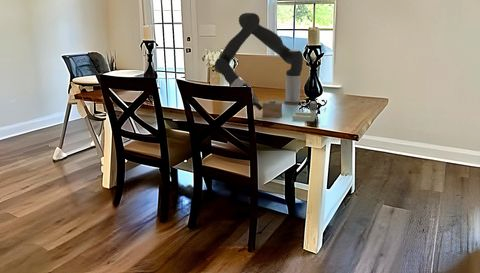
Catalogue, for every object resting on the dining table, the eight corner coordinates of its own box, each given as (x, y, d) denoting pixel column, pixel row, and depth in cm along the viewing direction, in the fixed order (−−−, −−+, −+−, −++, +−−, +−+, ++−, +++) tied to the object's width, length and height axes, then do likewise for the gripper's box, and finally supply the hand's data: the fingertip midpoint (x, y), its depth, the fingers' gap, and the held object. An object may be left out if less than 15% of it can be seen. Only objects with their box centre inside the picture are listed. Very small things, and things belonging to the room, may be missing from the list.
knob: (310, 108, 227) (310, 101, 225) (316, 109, 226) (317, 101, 224) (309, 110, 223) (309, 102, 222) (315, 110, 222) (316, 102, 221)
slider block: (264, 115, 238) (264, 99, 236) (281, 116, 236) (282, 100, 233) (262, 117, 234) (262, 101, 231) (279, 118, 231) (280, 102, 228)
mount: (295, 115, 236) (295, 105, 234) (315, 117, 232) (316, 106, 231) (292, 120, 227) (293, 109, 225) (313, 121, 224) (314, 110, 222)
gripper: (241, 84, 228) (263, 107, 228) (248, 80, 240) (268, 102, 240) (232, 93, 231) (253, 116, 231) (239, 89, 243) (259, 110, 243)
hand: (261, 109), depth 236 cm, fingers closed
